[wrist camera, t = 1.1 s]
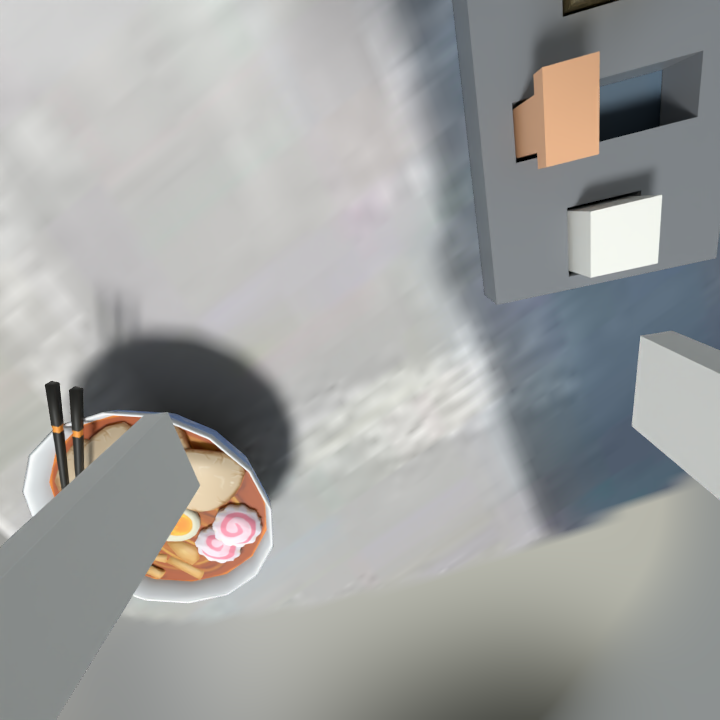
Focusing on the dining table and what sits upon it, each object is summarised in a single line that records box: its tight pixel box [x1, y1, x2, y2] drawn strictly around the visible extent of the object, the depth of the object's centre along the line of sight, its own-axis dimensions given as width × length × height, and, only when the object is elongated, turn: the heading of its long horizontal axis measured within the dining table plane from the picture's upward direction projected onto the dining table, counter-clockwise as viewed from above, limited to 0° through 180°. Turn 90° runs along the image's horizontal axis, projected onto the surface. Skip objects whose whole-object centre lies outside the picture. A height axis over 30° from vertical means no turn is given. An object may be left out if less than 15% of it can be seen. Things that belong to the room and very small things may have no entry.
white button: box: [567, 195, 662, 278], centre depth 27 cm, size 4×4×4 cm
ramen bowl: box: [22, 381, 274, 603], centre depth 37 cm, size 25×23×8 cm
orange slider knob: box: [513, 51, 600, 169], centre depth 24 cm, size 5×3×6 cm, turn 13°
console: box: [452, 0, 720, 305], centre depth 26 cm, size 23×16×4 cm
